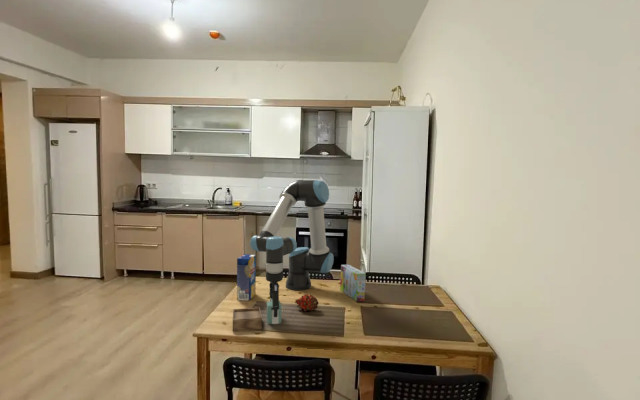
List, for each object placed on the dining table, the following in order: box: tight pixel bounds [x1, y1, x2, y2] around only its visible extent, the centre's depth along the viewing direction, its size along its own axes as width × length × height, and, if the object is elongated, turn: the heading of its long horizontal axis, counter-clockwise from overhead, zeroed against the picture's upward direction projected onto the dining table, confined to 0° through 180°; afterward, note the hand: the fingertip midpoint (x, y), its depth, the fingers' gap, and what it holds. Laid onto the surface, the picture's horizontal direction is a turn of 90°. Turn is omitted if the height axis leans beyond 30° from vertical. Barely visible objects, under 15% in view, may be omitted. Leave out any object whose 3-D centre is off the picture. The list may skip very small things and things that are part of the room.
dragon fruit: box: [294, 293, 319, 312], centre depth 175 cm, size 8×8×12 cm
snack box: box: [339, 264, 367, 302], centre depth 198 cm, size 21×6×15 cm, turn 22°
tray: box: [232, 307, 263, 332], centre depth 157 cm, size 12×12×5 cm
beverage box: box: [236, 253, 257, 301], centre depth 192 cm, size 7×11×22 cm, turn 174°
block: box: [266, 300, 282, 325], centre depth 161 cm, size 6×6×8 cm
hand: (273, 317), depth 161 cm, fingers open, 13 cm apart
